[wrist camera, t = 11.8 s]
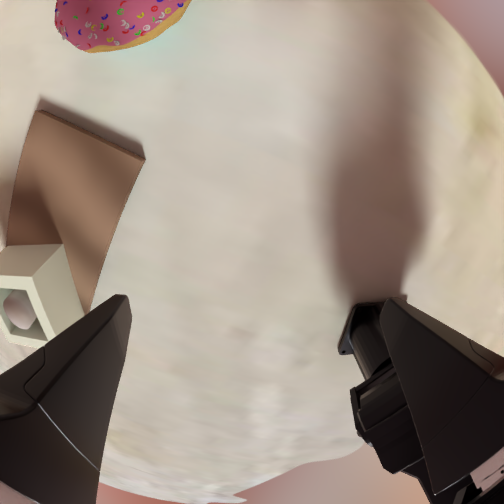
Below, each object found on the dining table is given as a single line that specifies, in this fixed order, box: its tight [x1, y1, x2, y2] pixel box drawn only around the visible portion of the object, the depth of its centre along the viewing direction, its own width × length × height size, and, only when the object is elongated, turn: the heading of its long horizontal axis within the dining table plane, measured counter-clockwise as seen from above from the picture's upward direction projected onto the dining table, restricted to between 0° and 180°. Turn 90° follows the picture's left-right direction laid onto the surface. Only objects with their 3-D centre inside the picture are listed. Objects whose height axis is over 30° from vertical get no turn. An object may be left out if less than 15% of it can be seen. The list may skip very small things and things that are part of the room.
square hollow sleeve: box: [0, 244, 85, 349], centre depth 18 cm, size 7×7×5 cm
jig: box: [3, 110, 146, 329], centre depth 16 cm, size 16×10×6 cm, turn 148°
